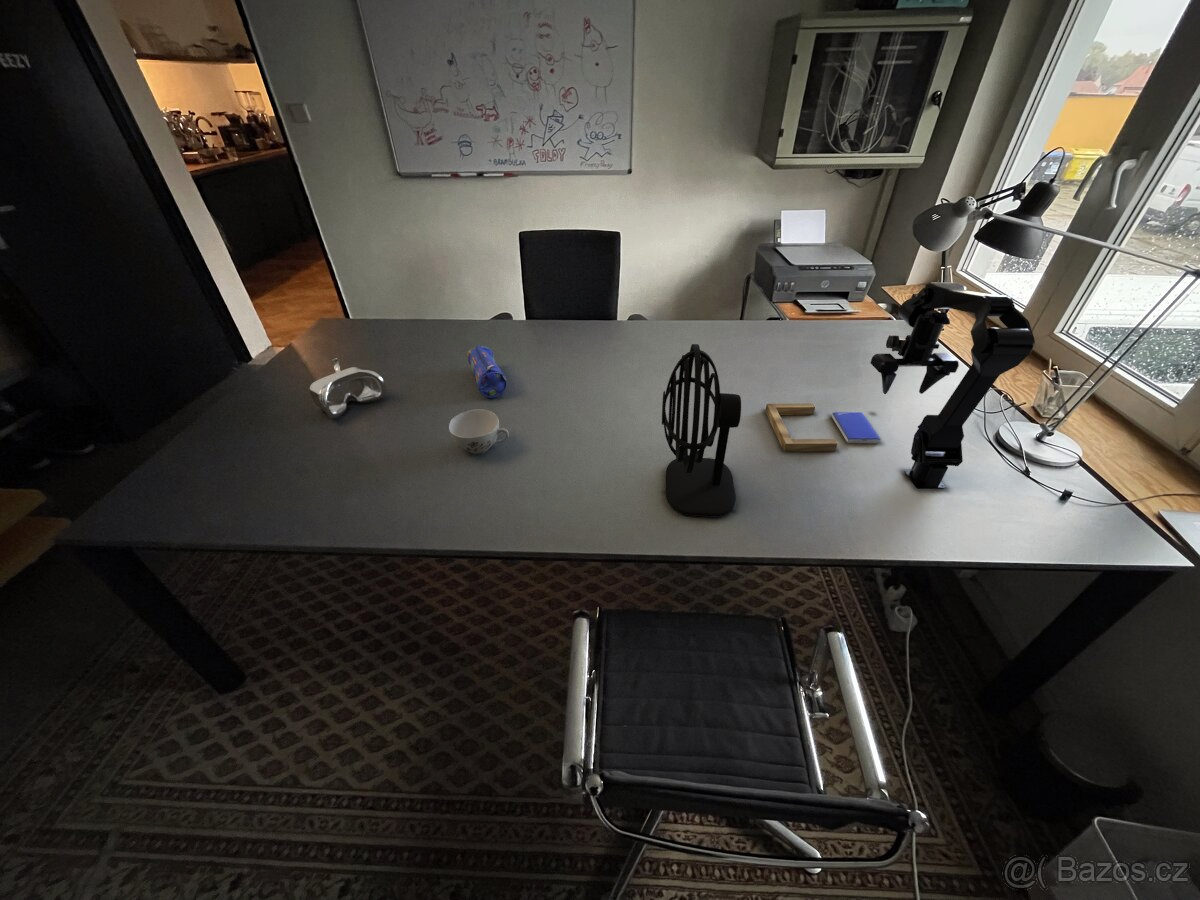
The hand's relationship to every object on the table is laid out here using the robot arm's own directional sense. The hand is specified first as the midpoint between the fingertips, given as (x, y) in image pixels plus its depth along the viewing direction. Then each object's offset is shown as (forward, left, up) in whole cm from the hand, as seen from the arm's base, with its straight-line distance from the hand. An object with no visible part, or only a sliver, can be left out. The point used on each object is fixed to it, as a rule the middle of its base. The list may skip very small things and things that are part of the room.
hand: (902, 393), depth 129 cm
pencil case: (+27, +113, -11) cm, 117 cm away
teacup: (-7, +108, -11) cm, 109 cm away
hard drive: (0, +9, -11) cm, 15 cm away
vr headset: (+14, +151, -11) cm, 152 cm away
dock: (0, +23, -11) cm, 26 cm away
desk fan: (-23, +55, -11) cm, 61 cm away
